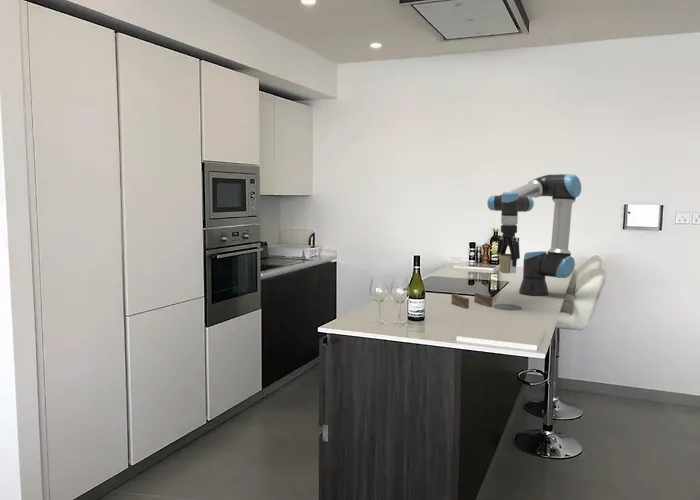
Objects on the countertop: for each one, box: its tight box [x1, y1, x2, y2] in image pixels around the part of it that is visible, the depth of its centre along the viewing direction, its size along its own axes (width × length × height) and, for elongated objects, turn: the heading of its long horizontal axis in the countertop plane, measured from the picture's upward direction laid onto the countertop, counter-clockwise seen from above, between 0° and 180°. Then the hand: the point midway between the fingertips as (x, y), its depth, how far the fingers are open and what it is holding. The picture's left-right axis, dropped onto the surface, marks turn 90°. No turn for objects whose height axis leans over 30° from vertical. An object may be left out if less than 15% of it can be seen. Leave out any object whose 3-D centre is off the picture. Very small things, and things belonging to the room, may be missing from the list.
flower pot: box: [497, 253, 511, 274], centre depth 283 cm, size 9×9×9 cm
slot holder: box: [451, 292, 493, 309], centre depth 290 cm, size 15×13×4 cm
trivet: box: [493, 303, 523, 311], centre depth 284 cm, size 13×13×1 cm
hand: (507, 271), depth 283 cm, fingers closed on flower pot, 8 cm apart
